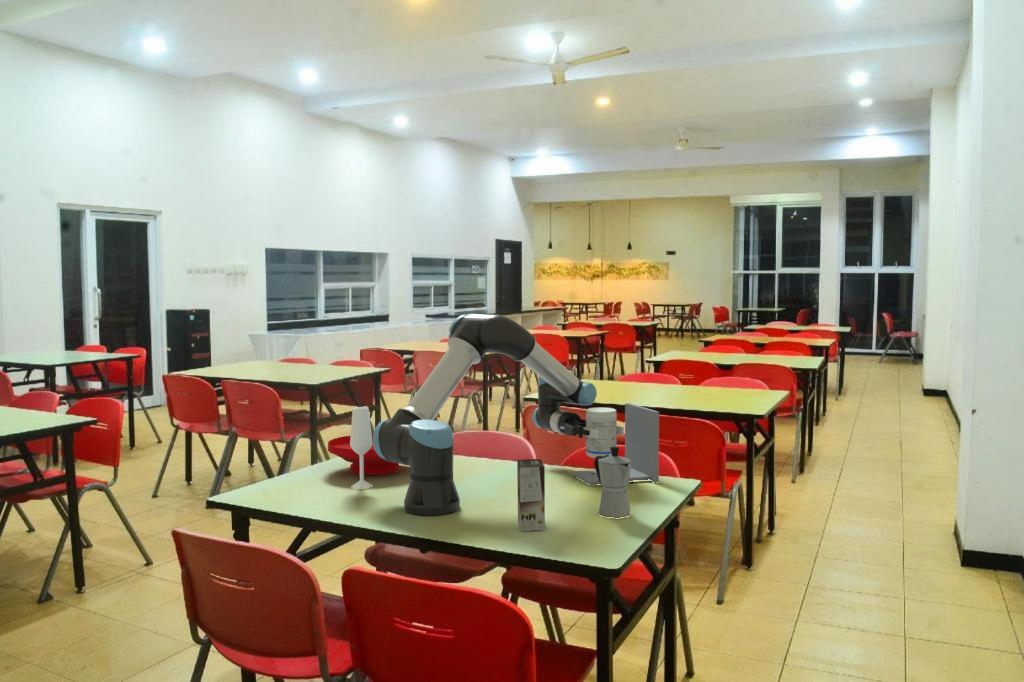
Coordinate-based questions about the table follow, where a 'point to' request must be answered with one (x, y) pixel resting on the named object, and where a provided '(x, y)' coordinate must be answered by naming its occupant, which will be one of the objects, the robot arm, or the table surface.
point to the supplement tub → (601, 431)
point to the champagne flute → (361, 440)
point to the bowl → (371, 458)
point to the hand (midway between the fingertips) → (610, 432)
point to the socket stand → (636, 445)
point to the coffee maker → (613, 484)
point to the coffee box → (531, 494)
